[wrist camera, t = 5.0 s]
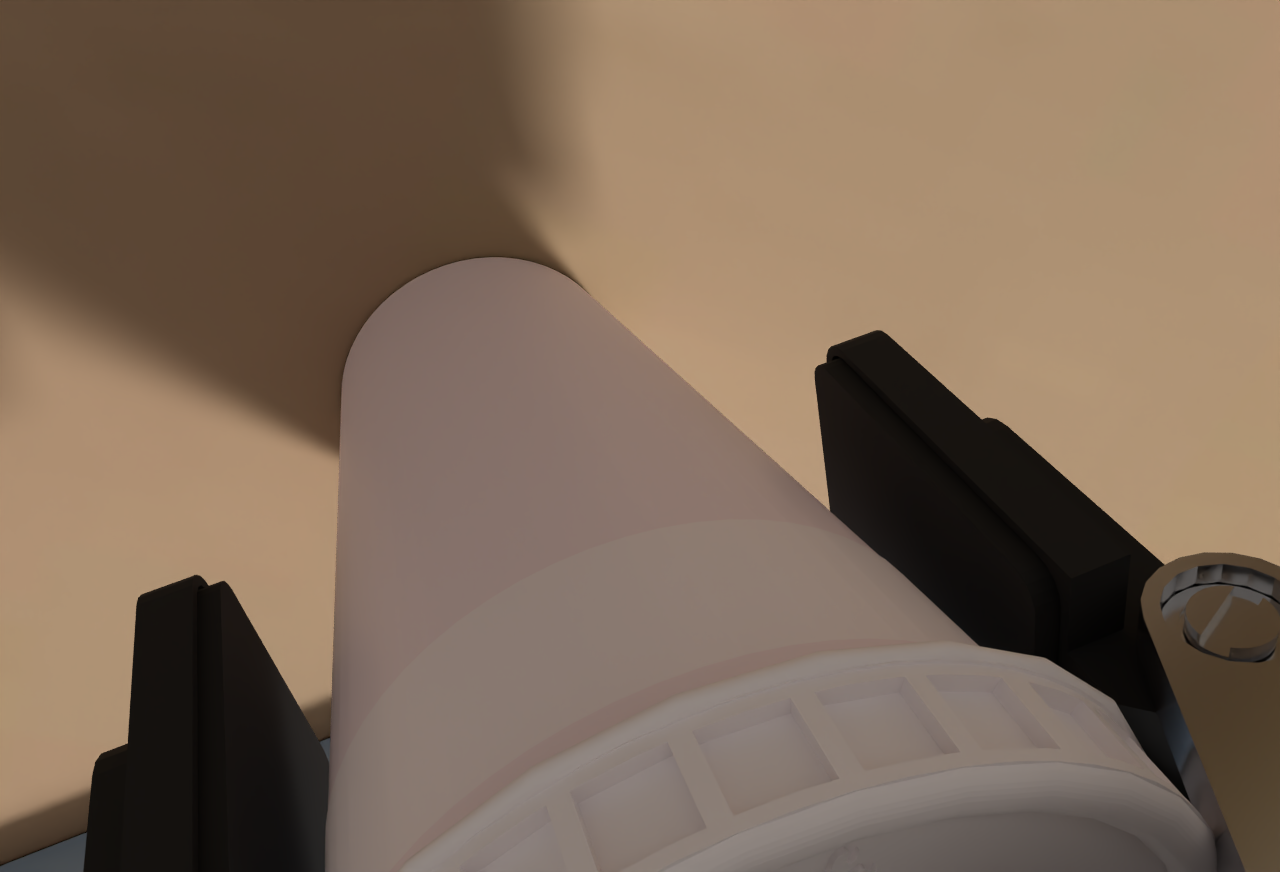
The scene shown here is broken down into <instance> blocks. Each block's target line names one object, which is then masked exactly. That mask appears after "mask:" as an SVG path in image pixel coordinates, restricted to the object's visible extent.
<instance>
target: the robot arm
mask: <svg viewBox="0 0 1280 872" xmlns="http://www.w3.org/2000/svg"><path fill="white" fill-rule="evenodd" d="M815 385H816V393H817V402H818V410H819V419H820V427H821V436H822V445H823V453H824V462H825V470H826V479H827V487H828V496H829V504H830V512H831V513H833V514H834V515H835V516H836V517H837V518H838V519H839V520H840V521H841V522H843V523H844V524H845V525H846V526H847V527H848V528H849V529H850V530H851V531H853V532H854V533H855V534H856V535H857V536H858V537H859V538H860V539H861V540H863V541H864V542H865V543H866V544H867V545H868V546H869V547H870V548H871V549H873V550H874V551H875V552H876V553H877V554H878V555H879V556H881V557H882V558H884V559H885V560H887V561H888V562H889V563H890V564H891V565H893V566H894V567H895V568H896V569H897V570H898V571H899V572H901V573H902V574H903V575H904V576H905V577H906V578H907V579H908V580H909V581H910V582H911V583H912V584H914V585H915V586H916V587H917V588H918V589H919V590H920V591H921V592H922V593H923V594H924V595H925V596H926V597H927V598H928V599H930V600H931V601H932V602H933V603H934V604H935V605H936V606H937V607H938V608H939V609H940V610H941V611H942V612H943V613H944V614H946V615H947V616H948V617H949V618H950V619H951V620H952V621H953V622H954V623H955V624H956V625H957V626H958V627H959V628H960V629H962V630H963V631H964V632H965V633H966V634H967V635H968V636H969V637H970V638H971V639H972V640H973V641H974V642H975V643H976V644H978V645H979V646H981V647H987V648H992V649H998V650H1004V651H1009V652H1015V653H1021V654H1026V655H1032V656H1038V657H1043V658H1046V659H1048V660H1050V661H1051V662H1053V663H1055V664H1056V665H1058V666H1059V667H1061V668H1063V669H1064V670H1066V671H1068V672H1069V673H1071V674H1072V675H1074V676H1076V677H1077V678H1079V679H1081V680H1082V681H1084V682H1086V683H1087V684H1089V685H1090V686H1092V687H1094V688H1095V689H1097V690H1099V691H1100V692H1102V693H1103V694H1105V695H1107V696H1108V697H1110V698H1112V699H1113V700H1114V701H1115V702H1116V704H1117V706H1118V707H1119V709H1120V711H1121V713H1122V714H1123V716H1124V718H1125V719H1126V721H1127V723H1128V725H1129V726H1130V728H1131V730H1132V731H1133V733H1134V735H1135V737H1136V738H1137V740H1138V742H1139V743H1140V745H1141V747H1142V749H1143V750H1144V752H1145V754H1146V755H1147V757H1148V758H1149V759H1150V760H1151V761H1152V762H1153V763H1154V764H1155V765H1156V766H1157V767H1158V769H1159V770H1160V771H1161V772H1162V773H1163V774H1164V775H1165V776H1166V777H1167V778H1168V779H1169V781H1170V782H1171V783H1172V784H1173V785H1174V786H1175V787H1176V788H1177V789H1178V790H1179V792H1180V793H1181V794H1182V795H1183V796H1184V797H1185V798H1186V799H1187V800H1188V801H1189V802H1190V803H1191V804H1192V805H1193V806H1194V807H1195V808H1196V809H1197V811H1198V812H1199V813H1200V814H1201V816H1202V817H1203V818H1204V820H1205V821H1206V823H1207V824H1208V825H1209V827H1210V828H1211V830H1212V831H1213V834H1214V836H1215V838H1216V840H1215V846H1216V852H1217V872H1280V566H1277V565H1275V564H1272V563H1270V562H1267V561H1265V560H1263V559H1260V558H1255V557H1250V556H1245V555H1240V554H1235V553H1205V552H1204V553H1200V554H1195V555H1190V556H1185V557H1180V558H1178V559H1176V560H1174V561H1172V562H1170V563H1168V564H1166V565H1164V564H1163V563H1162V562H1161V561H1160V560H1159V559H1157V558H1156V557H1155V556H1154V555H1153V554H1152V553H1151V552H1149V551H1148V550H1147V549H1146V548H1145V547H1144V546H1143V545H1142V544H1140V543H1139V542H1138V541H1137V540H1136V539H1135V538H1134V537H1132V536H1131V535H1130V534H1129V533H1128V532H1127V531H1126V530H1124V529H1123V528H1122V527H1121V526H1120V525H1119V524H1118V523H1117V522H1115V521H1114V520H1113V519H1112V518H1111V517H1110V516H1109V515H1107V514H1106V513H1105V512H1104V511H1103V510H1102V509H1101V508H1100V507H1098V506H1097V505H1096V504H1095V503H1094V502H1093V501H1092V500H1090V499H1089V498H1088V497H1087V496H1086V495H1085V494H1084V493H1083V492H1081V491H1080V490H1079V489H1078V488H1077V487H1076V486H1075V485H1073V484H1072V483H1071V482H1070V481H1069V480H1068V479H1067V478H1066V477H1064V476H1063V475H1062V474H1061V473H1060V472H1059V471H1058V470H1056V469H1055V468H1054V467H1053V466H1052V465H1051V464H1050V463H1049V462H1047V461H1046V460H1045V459H1044V458H1043V457H1042V456H1041V455H1039V454H1038V453H1037V452H1036V451H1035V450H1034V449H1033V448H1032V447H1030V446H1029V445H1028V444H1027V443H1026V442H1025V441H1024V440H1022V439H1021V438H1020V437H1019V436H1018V435H1017V434H1016V433H1014V432H1013V431H1012V430H1011V429H1010V428H1009V427H1008V426H1006V425H1005V424H1003V423H1002V422H1000V421H999V420H997V419H993V418H985V419H980V418H979V417H978V416H977V415H976V414H975V413H974V412H973V411H972V410H970V409H969V408H968V407H967V406H966V405H965V404H964V403H963V402H962V401H960V400H959V399H958V398H957V397H956V396H955V395H954V394H953V393H952V392H951V391H949V390H948V389H947V388H946V387H945V386H944V385H943V384H942V383H941V382H939V381H938V380H937V379H936V378H935V377H934V376H933V375H932V374H931V373H929V372H928V371H927V370H926V369H925V368H924V367H923V366H922V365H921V364H919V363H918V362H917V361H916V360H915V359H914V358H913V357H912V356H911V355H909V354H908V353H907V352H906V351H905V350H904V349H903V348H902V347H901V346H900V345H898V344H897V343H896V342H895V341H894V340H893V339H892V338H891V337H890V336H888V335H887V334H886V333H884V332H883V331H880V330H876V331H873V332H870V333H868V334H865V335H862V336H859V337H856V338H854V339H851V340H848V341H845V342H842V343H840V344H837V345H834V346H831V347H830V348H829V349H828V353H827V363H824V364H821V365H818V366H817V367H816V369H815ZM328 793H329V761H328V758H327V756H326V754H325V751H324V749H323V748H322V746H321V744H320V742H319V740H318V739H317V737H316V735H315V733H314V732H313V730H312V728H311V727H310V725H309V723H308V721H307V720H306V718H305V716H304V714H303V713H302V711H301V709H300V707H299V706H298V704H297V702H296V700H295V699H294V697H293V695H292V693H291V692H290V690H289V688H288V686H287V685H286V683H285V681H284V679H283V678H282V676H281V674H280V672H279V671H278V669H277V667H276V666H275V664H274V662H273V660H272V659H271V657H270V655H269V653H268V652H267V650H266V648H265V646H264V645H263V643H262V641H261V639H260V638H259V636H258V634H257V632H256V631H255V629H254V627H253V625H252V624H251V622H250V620H249V618H248V617H247V615H246V613H245V611H244V610H243V608H242V606H241V605H240V603H239V601H238V599H237V598H236V596H235V594H234V592H233V591H232V589H231V588H230V586H229V585H228V584H227V583H226V582H225V581H221V582H219V583H216V584H213V585H210V586H208V584H207V583H206V581H205V580H204V579H203V578H202V577H201V576H198V575H194V576H192V577H189V578H186V579H183V580H181V581H178V582H175V583H172V584H169V585H167V586H164V587H161V588H158V589H156V590H153V591H150V592H147V593H144V594H142V595H141V596H140V597H139V598H138V601H137V606H136V622H135V638H134V653H133V669H132V685H131V701H130V717H129V733H128V744H125V745H123V746H120V747H117V748H115V749H112V750H110V751H107V752H104V753H102V754H101V755H100V756H99V758H98V759H97V760H96V762H95V766H94V771H93V775H92V784H91V795H90V805H89V816H88V826H87V837H86V847H85V858H84V869H83V872H325V828H326V819H327V812H328Z"/></svg>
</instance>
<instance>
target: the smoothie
mask: <svg viewBox="0 0 1280 872" xmlns="http://www.w3.org/2000/svg"><path fill="white" fill-rule="evenodd" d="M1215 840H1216V838H1215V836H1214V834H1213V831H1212V830H1211V828H1210V827H1209V825H1208V824H1207V823H1206V821H1205V820H1204V818H1203V817H1202V816H1201V814H1200V813H1199V812H1198V811H1197V809H1196V808H1195V807H1194V806H1193V805H1192V804H1191V803H1190V802H1189V801H1188V800H1187V799H1186V798H1185V797H1184V796H1183V795H1182V794H1181V793H1180V792H1179V790H1178V789H1177V788H1176V787H1175V786H1174V785H1173V784H1172V783H1171V782H1170V781H1169V779H1168V778H1167V777H1166V776H1165V775H1164V774H1163V773H1162V772H1161V771H1160V770H1159V769H1158V767H1157V766H1156V765H1155V764H1154V763H1153V762H1152V761H1151V760H1150V759H1149V758H1148V757H1147V755H1146V754H1145V752H1144V750H1143V749H1142V747H1141V745H1140V743H1139V742H1138V740H1137V738H1136V737H1135V735H1134V733H1133V731H1132V730H1131V728H1130V726H1129V725H1128V723H1127V721H1126V719H1125V718H1124V716H1123V714H1122V713H1121V711H1120V709H1119V707H1118V706H1117V704H1116V702H1115V701H1114V700H1113V699H1112V698H1110V697H1108V696H1107V695H1105V694H1103V693H1102V692H1100V691H1099V690H1097V689H1095V688H1094V687H1092V686H1090V685H1089V684H1087V683H1086V682H1084V681H1082V680H1081V679H1079V678H1077V677H1076V676H1074V675H1072V674H1071V673H1069V672H1068V671H1066V670H1064V669H1063V668H1061V667H1059V666H1058V665H1056V664H1055V663H1053V662H1051V661H1050V660H1048V659H1046V658H1043V657H1038V656H1032V655H1026V654H1021V653H1015V652H1009V651H1004V650H998V649H992V648H987V647H981V646H979V645H978V644H976V643H975V642H974V641H973V640H972V639H971V638H970V637H969V636H968V635H967V634H966V633H965V632H964V631H963V630H962V629H960V628H959V627H958V626H957V625H956V624H955V623H954V622H953V621H952V620H951V619H950V618H949V617H948V616H947V615H946V614H944V613H943V612H942V611H941V610H940V609H939V608H938V607H937V606H936V605H935V604H934V603H933V602H932V601H931V600H930V599H928V598H927V597H926V596H925V595H924V594H923V593H922V592H921V591H920V590H919V589H918V588H917V587H916V586H915V585H914V584H912V583H911V582H910V581H909V580H908V579H907V578H906V577H905V576H904V575H903V574H902V573H901V572H899V571H898V570H897V569H896V568H895V567H894V566H893V565H891V564H890V563H889V562H888V561H887V560H885V559H884V558H882V557H881V556H879V555H878V554H877V553H876V552H875V551H874V550H873V549H871V548H870V547H869V546H868V545H867V544H866V543H865V542H864V541H863V540H861V539H860V538H859V537H858V536H857V535H856V534H855V533H854V532H853V531H851V530H850V529H849V528H848V527H847V526H846V525H845V524H844V523H843V522H841V521H840V520H839V519H838V518H837V517H836V516H835V515H834V514H833V513H831V512H830V511H829V510H828V509H827V508H826V507H825V506H824V505H823V504H821V503H820V502H819V501H818V500H817V499H816V498H815V497H814V496H813V495H811V494H810V493H809V492H808V491H807V490H806V489H805V488H804V487H803V486H802V485H800V484H799V483H798V482H797V481H796V480H795V479H794V478H793V477H792V476H790V475H789V474H788V473H787V472H786V471H785V470H784V469H783V468H782V467H780V466H779V465H778V464H777V463H776V462H775V461H774V460H773V459H772V458H770V457H769V456H768V455H767V454H766V453H765V452H764V451H763V450H762V449H760V448H759V447H758V446H757V445H756V444H755V443H754V442H753V441H752V440H750V439H749V438H748V437H747V436H746V435H745V434H744V433H743V432H742V431H740V430H739V429H738V428H737V427H736V426H735V425H734V424H733V423H732V422H730V421H729V420H728V419H727V418H726V417H725V416H724V415H723V414H722V413H720V412H719V411H718V410H717V409H716V408H715V407H714V406H713V405H712V404H710V403H709V402H708V401H707V400H706V399H705V398H704V397H703V396H702V395H700V394H699V393H698V392H697V391H696V390H695V389H694V388H693V387H692V386H691V385H689V384H688V383H687V382H686V381H685V380H684V379H683V378H682V377H681V376H679V375H678V374H677V373H676V372H675V371H674V370H673V369H672V368H671V367H669V366H668V365H667V364H666V363H665V362H664V361H663V360H662V359H661V358H659V357H658V356H657V355H656V354H655V353H654V352H653V351H652V350H651V349H649V348H648V347H647V346H646V345H645V344H644V343H643V342H642V341H641V340H639V339H638V338H637V337H636V336H635V335H634V334H633V333H632V332H631V331H629V330H628V329H627V328H626V327H625V326H624V325H623V324H622V323H621V322H619V321H618V320H617V319H616V318H615V317H614V316H613V315H612V314H611V313H609V312H608V311H607V310H606V309H605V308H604V307H603V306H602V305H601V304H599V303H598V302H597V301H596V300H595V299H594V298H593V297H592V296H591V295H590V294H588V293H587V292H586V291H585V290H584V289H583V288H582V287H580V286H579V285H578V284H577V283H575V282H574V281H573V280H571V279H570V278H568V277H567V276H565V275H563V274H561V273H559V272H558V271H556V270H553V269H551V268H549V267H546V266H544V265H540V264H537V263H534V262H531V261H526V260H521V259H514V258H504V257H486V258H475V259H469V260H463V261H459V262H455V263H451V264H447V265H444V266H442V267H439V268H436V269H434V270H431V271H429V272H427V273H425V274H423V275H421V276H419V277H417V278H415V279H413V280H412V281H410V282H408V283H407V284H405V285H404V286H402V287H401V288H400V289H398V290H397V291H396V292H394V293H393V294H392V295H391V296H390V297H388V298H387V299H386V300H385V301H384V302H383V303H382V304H381V305H380V306H379V307H378V308H377V309H376V310H375V311H374V312H373V313H372V315H371V316H370V317H369V319H368V320H367V321H366V323H365V324H364V325H363V327H362V329H361V330H360V332H359V333H358V335H357V337H356V339H355V341H354V343H353V345H352V347H351V349H350V352H349V355H348V358H347V361H346V364H345V369H344V373H343V380H342V394H341V425H340V455H339V486H338V517H337V548H336V578H335V609H334V640H333V670H332V701H331V732H330V763H329V793H328V812H327V819H326V828H325V872H1217V852H1216V846H1215Z"/></svg>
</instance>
